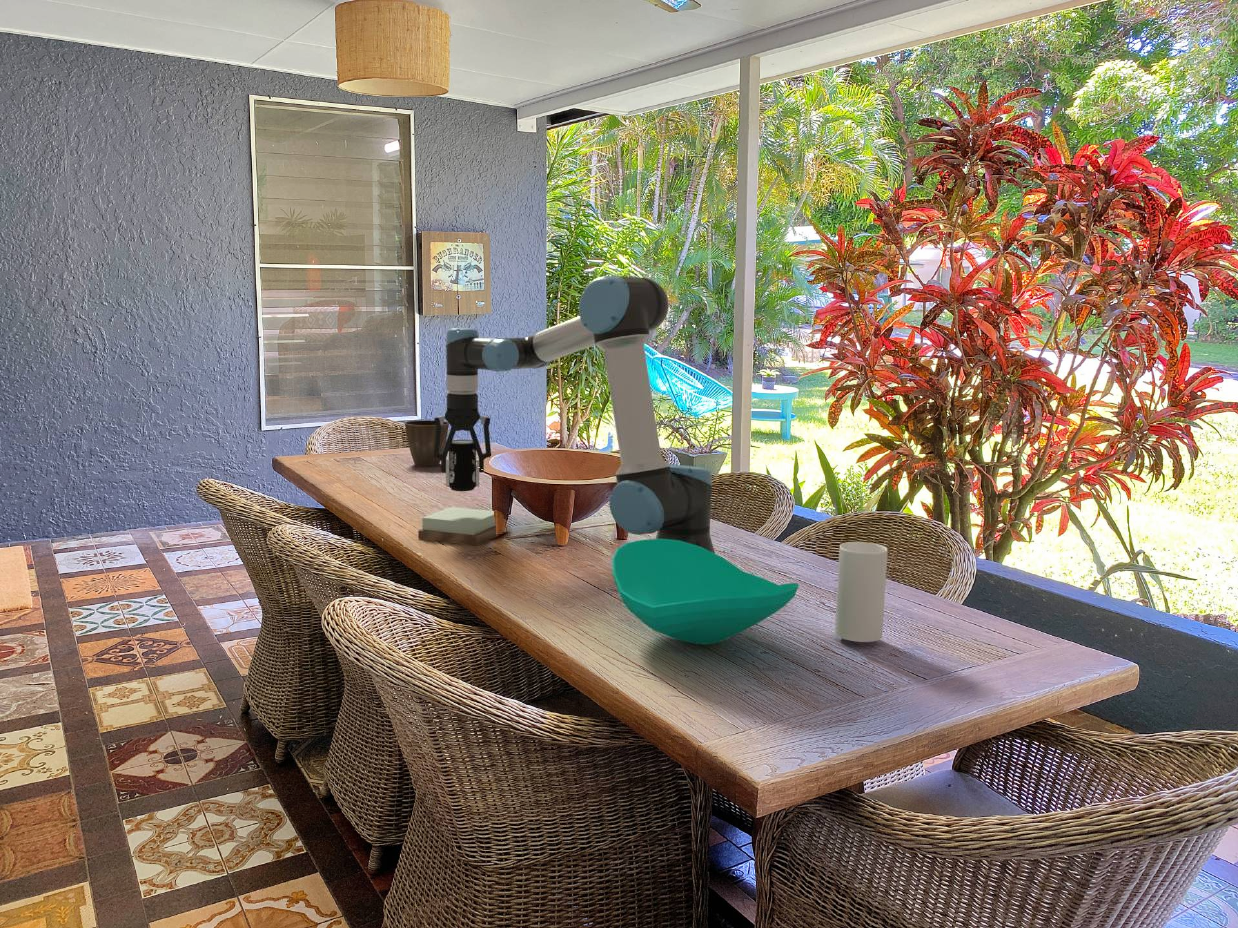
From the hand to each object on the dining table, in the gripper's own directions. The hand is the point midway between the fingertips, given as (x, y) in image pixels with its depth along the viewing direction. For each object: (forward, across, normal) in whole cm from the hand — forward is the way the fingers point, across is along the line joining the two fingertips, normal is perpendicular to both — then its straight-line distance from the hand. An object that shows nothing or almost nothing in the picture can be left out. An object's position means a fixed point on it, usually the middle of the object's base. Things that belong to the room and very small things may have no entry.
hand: (462, 485), depth 241 cm
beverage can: (+1, 0, 0) cm, 1 cm away
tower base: (+13, 0, 0) cm, 13 cm away
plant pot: (+13, +10, -101) cm, 103 cm away
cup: (+12, -68, +83) cm, 108 cm away
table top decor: (+12, -39, +81) cm, 91 cm away
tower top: (+10, 0, 0) cm, 10 cm away
